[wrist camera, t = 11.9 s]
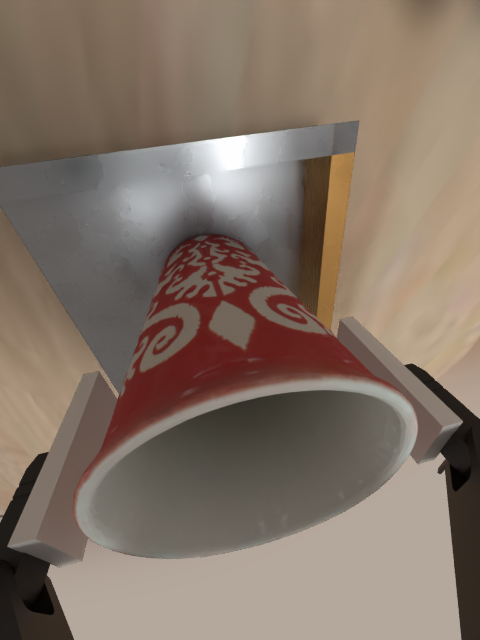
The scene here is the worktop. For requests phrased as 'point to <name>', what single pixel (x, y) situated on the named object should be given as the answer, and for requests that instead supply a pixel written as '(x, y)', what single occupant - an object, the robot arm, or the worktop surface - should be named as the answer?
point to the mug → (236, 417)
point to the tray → (181, 221)
